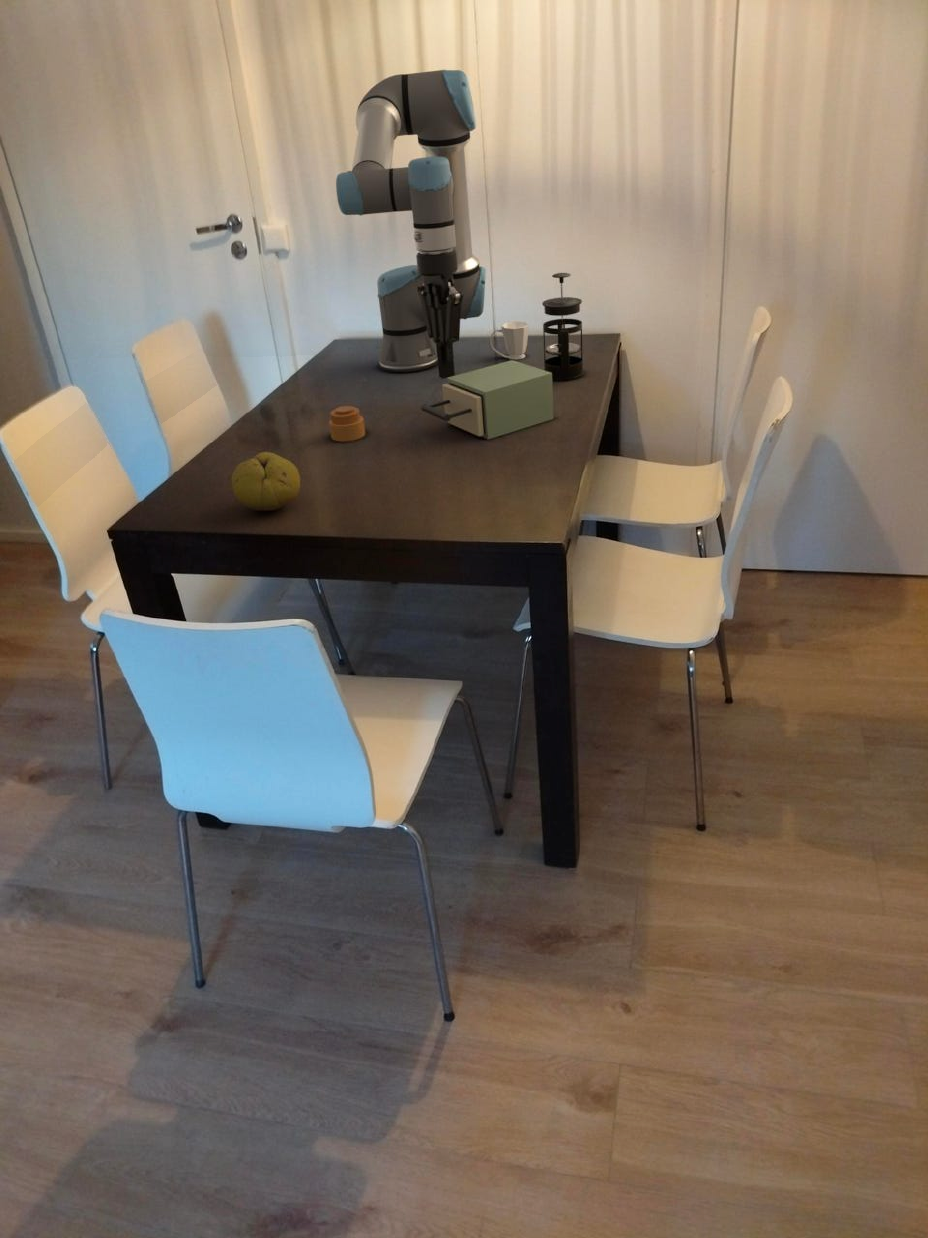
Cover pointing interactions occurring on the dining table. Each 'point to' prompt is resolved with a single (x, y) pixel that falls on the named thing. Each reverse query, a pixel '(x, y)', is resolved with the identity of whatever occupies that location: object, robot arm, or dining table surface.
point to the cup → (513, 339)
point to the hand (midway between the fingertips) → (447, 376)
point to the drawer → (460, 409)
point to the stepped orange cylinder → (346, 424)
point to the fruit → (265, 482)
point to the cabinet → (510, 395)
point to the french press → (563, 336)
